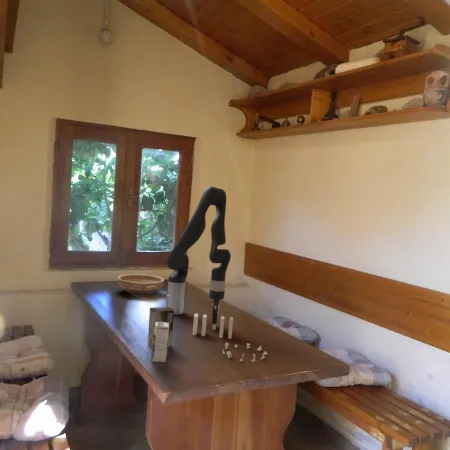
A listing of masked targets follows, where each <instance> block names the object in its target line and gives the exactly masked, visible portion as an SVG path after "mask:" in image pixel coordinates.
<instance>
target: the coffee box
mask: <svg viewBox="0 0 450 450" xmlns="http://www.w3.org/2000/svg"><path fill="white" fill-rule="evenodd" d="M174 315H175V314H174V310H173V309H171V308H170V307H166V306H164V307H163V306H161V307H158V306H157V307H149V316H148V318H149V320H148V331H147V332H148V333H147V344H148V345H149V347H150V348H152V347H153V336H154V326H155V323H156V322H165V323H169V333H168V345H167V348H168V347H173V333H174V317H175V316H174Z"/></svg>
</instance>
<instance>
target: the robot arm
mask: <svg viewBox="0 0 450 450" xmlns="http://www.w3.org/2000/svg"><path fill="white" fill-rule="evenodd" d="M210 206H214V207H215V217H214V219H213V221H212V224H211V226H210V227H211V228H210V233H211V234H210V235H211V245H210V251H209V255H208V258H209V261H210V262H211V263H212V264H219V266H217V267H213V268H212V269H211V273H210V275H211V276H210V282H209V283H210V284H209V296H208V297H209V299H211V300H212V302H211V306H212V307H211V312H212V313H211V317H212V319H211V324H212V325H213V324H216V325H217V322H218V316H219V315H218V314H219V312H220V306H221V301H222V300H224V299H225V295H226V294H225V292H226V272H227V270H228V267H229V264H230V261H231V256H232V255H231V252H230V250H229V249H226V248H225V249H224V248H222V249H220V248H219V249H218V246H219V247H220V246H223V245H225V244H226V243H227V242H226V241H227V240H226V227H225V221H226V211H227V210H226V209H227V194H226V191H225V190H224V189H222V188H220V187H215V186H211V185H209V186H208V187H206V188H205V190H204V191H203V193H202V195H201V196H200V199H199V202H198V203H197V206H196V209H195V210H194V212H193V214H192V216H191V218H190V219H189V221H188V223H187V224H186V227H185V228H184V230H183V232H182V233H181V236H180V237H179V239H178V240H177V243H176V244H175V245H174V247H173V249H172V250H171V251H170V253H169V254H168V256H167V258H166V266H167V267H168V269H170V270H172V273H171V274H170V275H168V281H167V282H168V283H167V293H166V300H165V307H170V308H171V309H173V310H174V315H182V314H183V313H184V304H185V290H186V279H187V277H188V272H189V265H190V259H189V256H188V254H187V252H188V251H189V249H191V247H192V246H194V245H195V244H196V243H197V242H198V241H199V240H200V238H201V237H202V235H203V234H204V233H205V230H206V225H207V223H206V214H207V212H208V209H209V208H210ZM214 312H216V314H214Z"/></svg>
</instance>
